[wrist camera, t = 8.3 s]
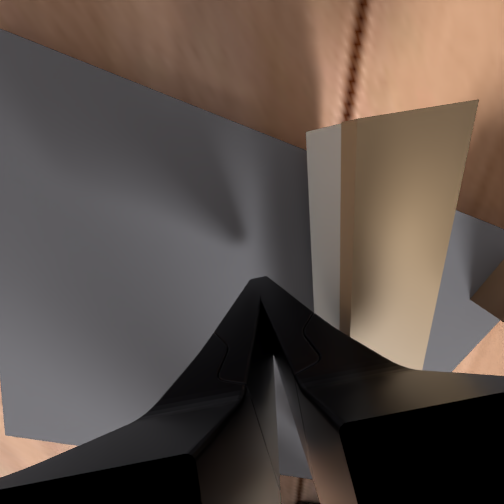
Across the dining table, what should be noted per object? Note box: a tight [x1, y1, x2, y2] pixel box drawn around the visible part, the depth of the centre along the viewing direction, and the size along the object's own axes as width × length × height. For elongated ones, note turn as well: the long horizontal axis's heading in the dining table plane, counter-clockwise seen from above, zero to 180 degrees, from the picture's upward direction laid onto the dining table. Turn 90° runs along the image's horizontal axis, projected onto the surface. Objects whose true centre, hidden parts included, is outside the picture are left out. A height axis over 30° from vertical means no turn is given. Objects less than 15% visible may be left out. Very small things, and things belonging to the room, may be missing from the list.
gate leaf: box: [306, 100, 479, 370], centre depth 9 cm, size 17×2×4 cm, turn 8°
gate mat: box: [0, 29, 504, 479], centre depth 13 cm, size 21×24×1 cm
